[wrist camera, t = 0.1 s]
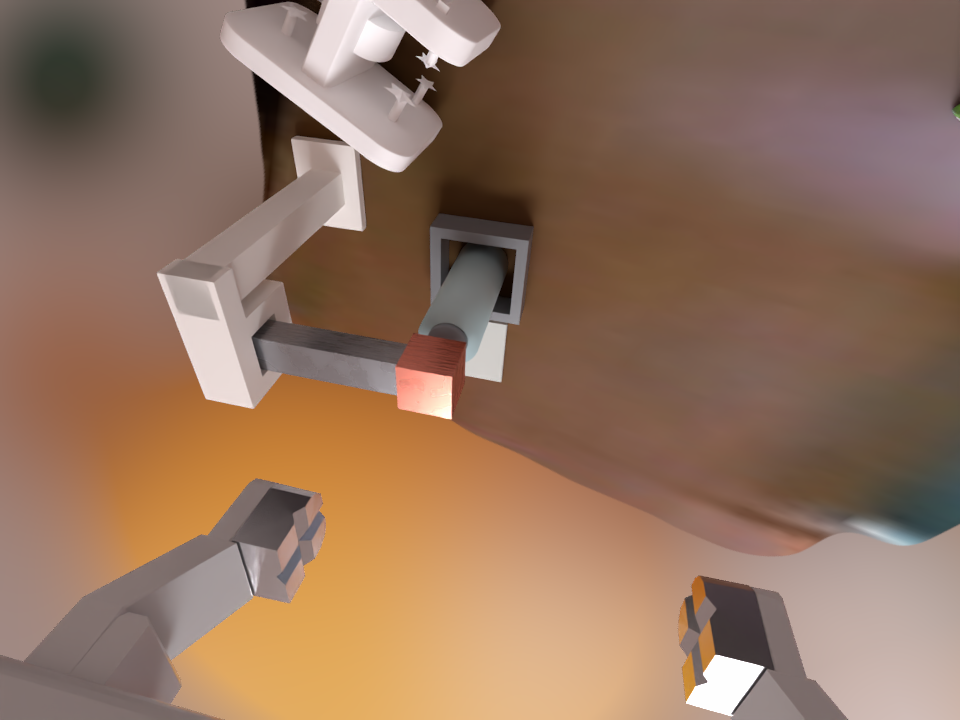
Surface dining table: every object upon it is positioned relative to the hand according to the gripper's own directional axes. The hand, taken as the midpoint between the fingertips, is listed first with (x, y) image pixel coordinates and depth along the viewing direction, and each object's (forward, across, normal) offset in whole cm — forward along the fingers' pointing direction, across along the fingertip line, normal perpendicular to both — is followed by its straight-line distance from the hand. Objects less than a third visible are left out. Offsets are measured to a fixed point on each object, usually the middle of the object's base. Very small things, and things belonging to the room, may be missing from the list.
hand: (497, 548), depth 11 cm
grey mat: (+41, +9, +22) cm, 47 cm away
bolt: (+25, +16, +13) cm, 32 cm away
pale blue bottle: (+40, +8, +11) cm, 42 cm away
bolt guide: (+40, +23, +8) cm, 47 cm away
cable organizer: (+38, +16, -9) cm, 43 cm away
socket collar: (+40, +8, +11) cm, 42 cm away
